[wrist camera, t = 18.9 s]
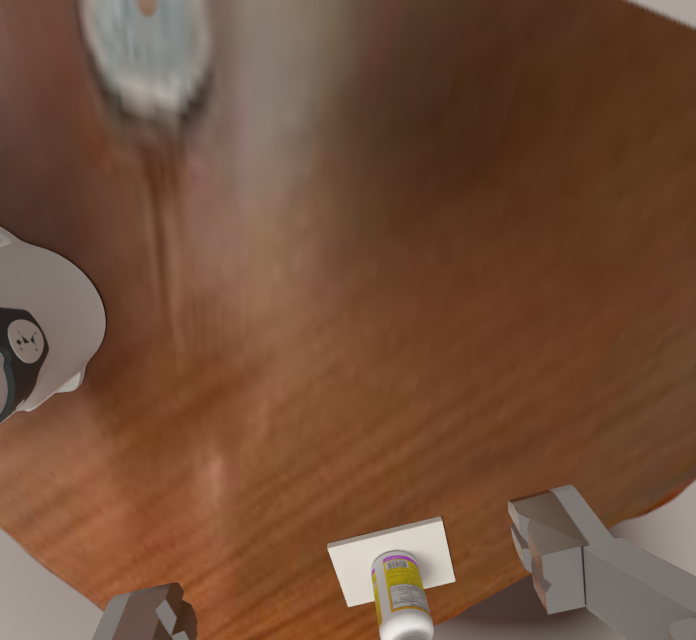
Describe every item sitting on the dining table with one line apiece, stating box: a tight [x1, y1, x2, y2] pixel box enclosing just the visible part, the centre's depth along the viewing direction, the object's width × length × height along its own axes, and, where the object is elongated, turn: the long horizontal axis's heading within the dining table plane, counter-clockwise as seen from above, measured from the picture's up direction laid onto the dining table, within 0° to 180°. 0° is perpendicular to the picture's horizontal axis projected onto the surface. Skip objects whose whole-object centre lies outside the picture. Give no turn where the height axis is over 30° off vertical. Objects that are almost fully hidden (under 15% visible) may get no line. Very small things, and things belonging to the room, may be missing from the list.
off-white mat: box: [327, 516, 455, 607], centre depth 64 cm, size 16×12×1 cm
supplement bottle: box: [371, 551, 434, 640], centre depth 58 cm, size 7×7×13 cm
